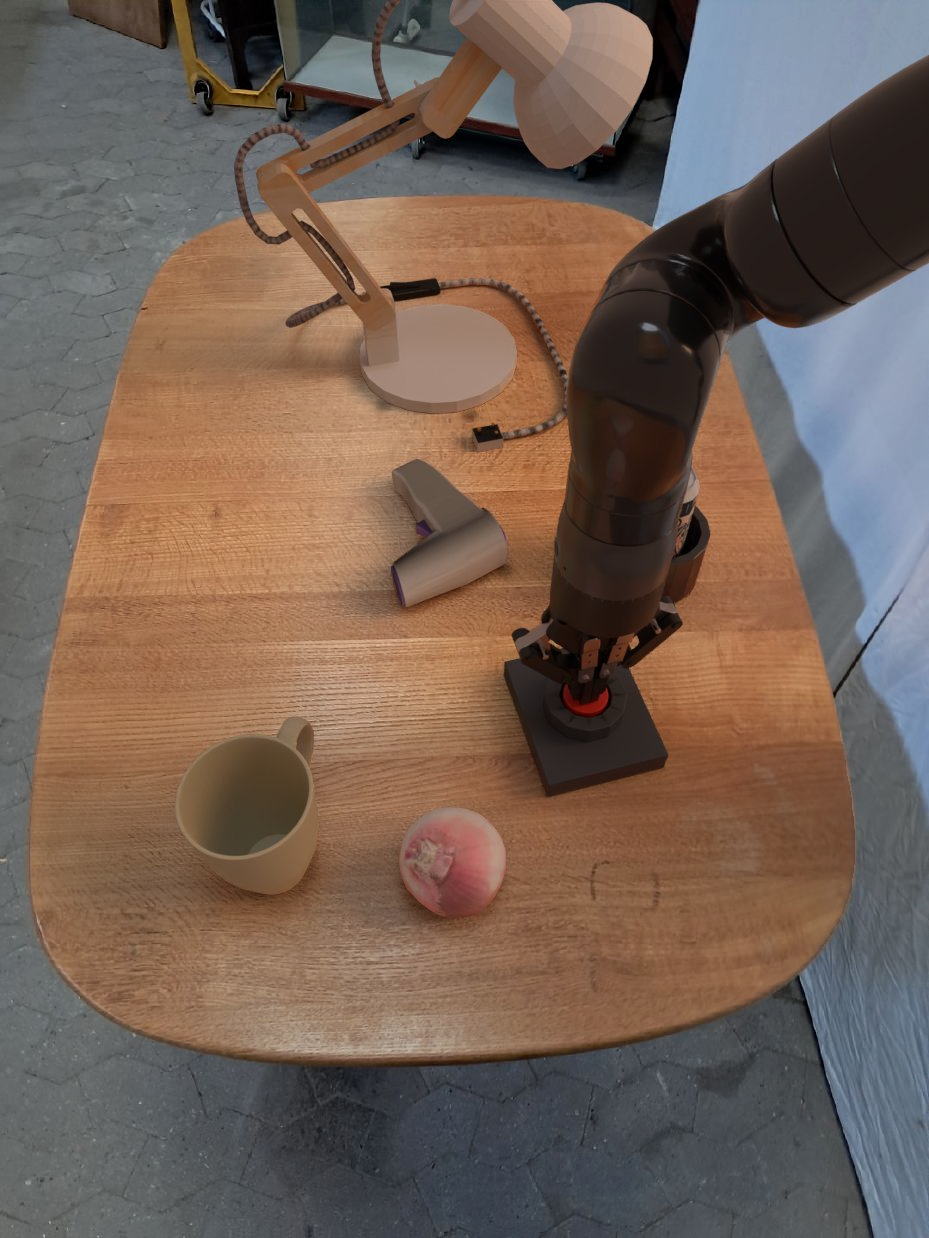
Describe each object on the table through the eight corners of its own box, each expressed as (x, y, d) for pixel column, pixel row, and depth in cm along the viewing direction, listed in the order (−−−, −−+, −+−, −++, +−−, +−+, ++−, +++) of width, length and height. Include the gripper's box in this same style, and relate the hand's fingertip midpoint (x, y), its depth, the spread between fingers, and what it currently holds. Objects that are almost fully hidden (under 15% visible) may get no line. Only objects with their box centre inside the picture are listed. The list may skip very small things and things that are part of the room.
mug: (360, 894, 67) (342, 828, 58) (228, 940, 65) (186, 879, 56) (324, 769, 74) (302, 690, 64) (202, 808, 72) (160, 732, 62)
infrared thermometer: (430, 480, 94) (516, 565, 86) (328, 530, 90) (408, 624, 82) (426, 446, 91) (516, 530, 83) (320, 496, 87) (404, 590, 79)
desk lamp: (646, 421, 98) (730, -1, 66) (298, 484, 93) (206, 58, 61) (559, 265, 116) (593, -128, 84) (264, 310, 111) (178, -90, 79)
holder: (715, 569, 86) (729, 526, 81) (657, 623, 82) (669, 581, 77) (641, 521, 90) (651, 477, 85) (583, 570, 86) (590, 527, 81)
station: (664, 767, 73) (672, 743, 70) (546, 797, 72) (550, 774, 69) (611, 650, 80) (617, 623, 77) (503, 675, 79) (504, 649, 76)
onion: (381, 865, 69) (373, 826, 63) (462, 807, 71) (461, 765, 66) (445, 950, 65) (442, 917, 59) (527, 886, 68) (533, 848, 62)
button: (612, 717, 73) (615, 706, 72) (570, 728, 73) (572, 717, 71) (597, 681, 76) (599, 670, 74) (555, 691, 75) (557, 680, 74)
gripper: (533, 618, 56) (520, 753, 70) (731, 574, 58) (680, 713, 72) (498, 531, 60) (492, 674, 74) (683, 492, 62) (644, 639, 76)
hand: (585, 693), depth 73 cm, fingers closed
